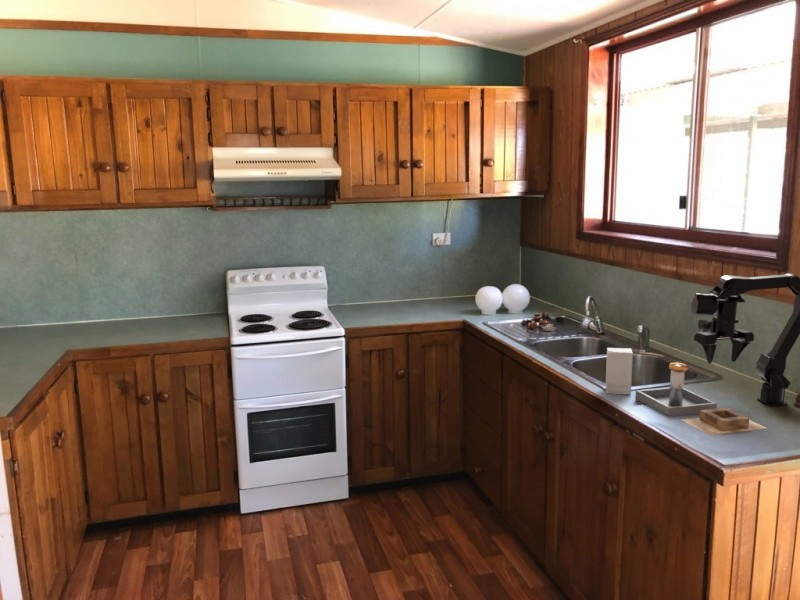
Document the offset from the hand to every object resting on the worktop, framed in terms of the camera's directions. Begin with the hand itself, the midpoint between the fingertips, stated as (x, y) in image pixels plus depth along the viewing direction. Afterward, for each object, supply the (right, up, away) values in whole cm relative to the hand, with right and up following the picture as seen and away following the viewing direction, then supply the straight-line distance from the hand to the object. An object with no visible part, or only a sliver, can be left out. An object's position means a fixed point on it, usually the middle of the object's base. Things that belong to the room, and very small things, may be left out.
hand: (721, 362), depth 218 cm
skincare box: (-30, -11, +11) cm, 34 cm away
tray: (-17, -14, -4) cm, 22 cm away
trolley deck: (-9, -17, -20) cm, 28 cm away
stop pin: (-17, -13, -4) cm, 22 cm away
